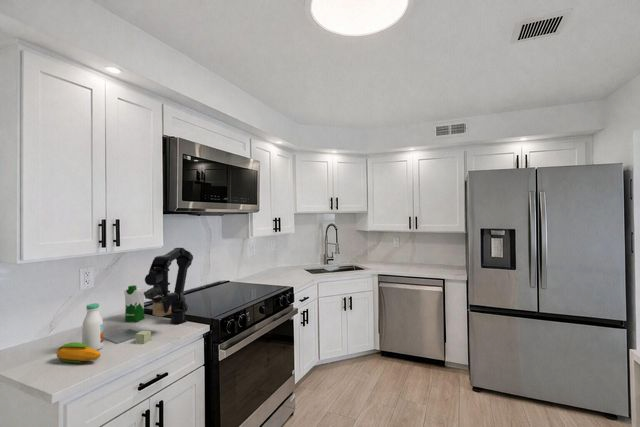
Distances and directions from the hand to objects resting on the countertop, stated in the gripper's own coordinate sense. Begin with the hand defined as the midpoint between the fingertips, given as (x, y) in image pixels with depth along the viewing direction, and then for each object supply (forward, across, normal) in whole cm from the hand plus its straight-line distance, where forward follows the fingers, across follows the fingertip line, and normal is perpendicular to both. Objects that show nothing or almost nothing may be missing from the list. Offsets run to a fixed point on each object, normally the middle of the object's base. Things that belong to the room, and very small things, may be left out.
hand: (162, 312), depth 163 cm
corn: (+11, -1, -36) cm, 37 cm away
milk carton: (+11, -33, +5) cm, 35 cm away
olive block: (+11, +2, -11) cm, 16 cm away
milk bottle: (+11, -10, -27) cm, 31 cm away
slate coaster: (+11, -13, -12) cm, 21 cm away
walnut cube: (+1, 0, 0) cm, 1 cm away
